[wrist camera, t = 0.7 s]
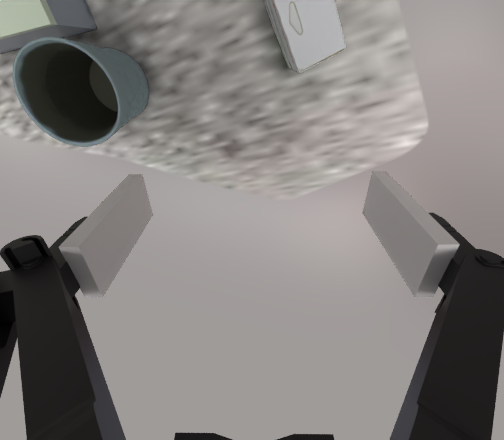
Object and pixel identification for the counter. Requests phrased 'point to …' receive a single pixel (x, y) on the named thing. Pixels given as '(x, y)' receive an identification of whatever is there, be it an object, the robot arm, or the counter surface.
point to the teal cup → (78, 89)
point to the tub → (68, 23)
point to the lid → (24, 17)
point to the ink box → (306, 31)
